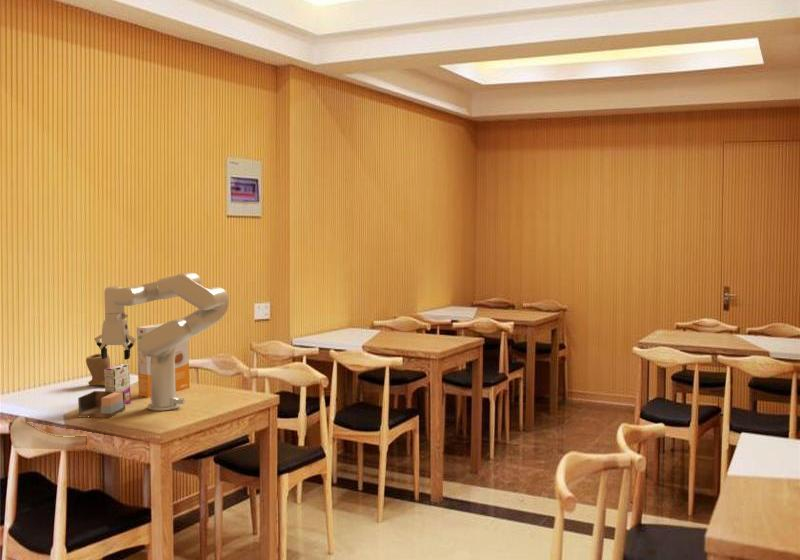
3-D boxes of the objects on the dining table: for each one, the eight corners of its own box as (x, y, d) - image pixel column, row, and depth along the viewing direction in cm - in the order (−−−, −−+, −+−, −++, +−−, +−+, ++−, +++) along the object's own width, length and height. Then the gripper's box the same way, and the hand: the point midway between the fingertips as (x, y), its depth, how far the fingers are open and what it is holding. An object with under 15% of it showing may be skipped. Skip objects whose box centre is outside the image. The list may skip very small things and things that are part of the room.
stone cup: (81, 386, 352) (80, 354, 351) (101, 381, 362) (100, 350, 361) (105, 389, 345) (104, 356, 344) (125, 384, 356) (124, 352, 355)
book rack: (125, 410, 307) (124, 391, 306) (110, 417, 294) (109, 398, 294) (94, 409, 308) (94, 391, 308) (78, 417, 296) (77, 398, 295)
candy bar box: (120, 402, 320) (118, 363, 319) (131, 403, 319) (129, 364, 318) (104, 408, 309) (103, 368, 308) (116, 409, 308) (114, 369, 307)
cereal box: (180, 386, 351) (178, 321, 349) (189, 388, 347) (187, 322, 345) (138, 395, 332) (136, 327, 330) (148, 397, 329) (146, 328, 327)
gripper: (139, 316, 314) (140, 357, 315) (99, 315, 316) (100, 356, 318) (130, 318, 307) (131, 361, 308) (89, 317, 309) (90, 359, 310)
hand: (115, 358), depth 313 cm, fingers open, 9 cm apart
